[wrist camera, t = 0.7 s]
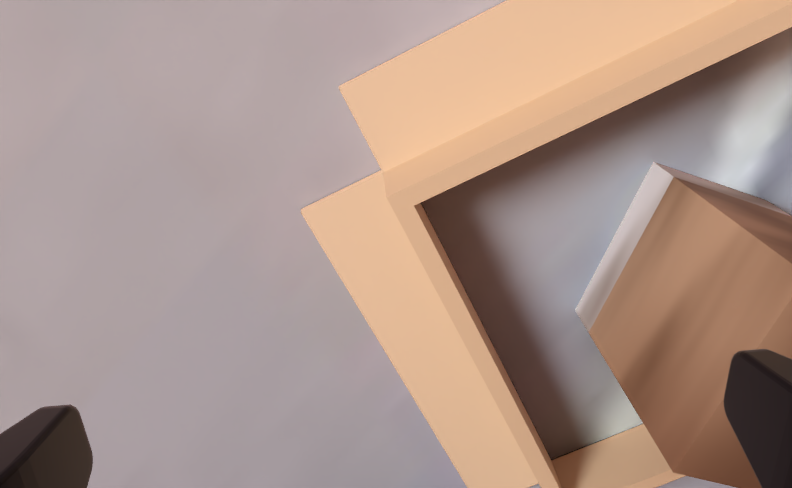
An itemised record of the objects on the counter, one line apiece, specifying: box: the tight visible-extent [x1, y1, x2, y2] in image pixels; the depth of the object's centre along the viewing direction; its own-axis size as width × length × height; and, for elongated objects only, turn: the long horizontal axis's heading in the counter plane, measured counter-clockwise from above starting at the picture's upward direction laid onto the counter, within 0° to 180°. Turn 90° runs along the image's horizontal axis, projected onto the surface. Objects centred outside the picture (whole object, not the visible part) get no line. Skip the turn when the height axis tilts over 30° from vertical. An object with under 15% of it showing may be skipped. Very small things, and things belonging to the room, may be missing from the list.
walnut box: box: [575, 162, 792, 488], centre depth 19 cm, size 4×6×8 cm
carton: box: [301, 0, 792, 488], centre depth 21 cm, size 18×21×2 cm
